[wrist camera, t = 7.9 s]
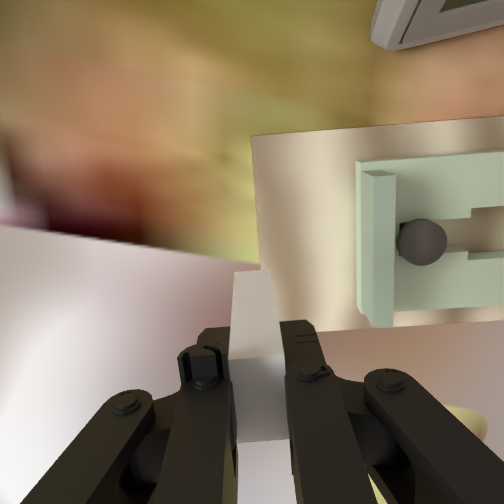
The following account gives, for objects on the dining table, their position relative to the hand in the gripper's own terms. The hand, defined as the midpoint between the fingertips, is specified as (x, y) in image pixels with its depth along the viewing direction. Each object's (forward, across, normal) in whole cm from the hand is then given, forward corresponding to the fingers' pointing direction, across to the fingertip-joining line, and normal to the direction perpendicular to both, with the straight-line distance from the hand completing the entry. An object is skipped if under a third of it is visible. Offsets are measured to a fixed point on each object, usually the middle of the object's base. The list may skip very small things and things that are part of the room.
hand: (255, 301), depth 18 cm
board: (+12, +15, -1) cm, 19 cm away
